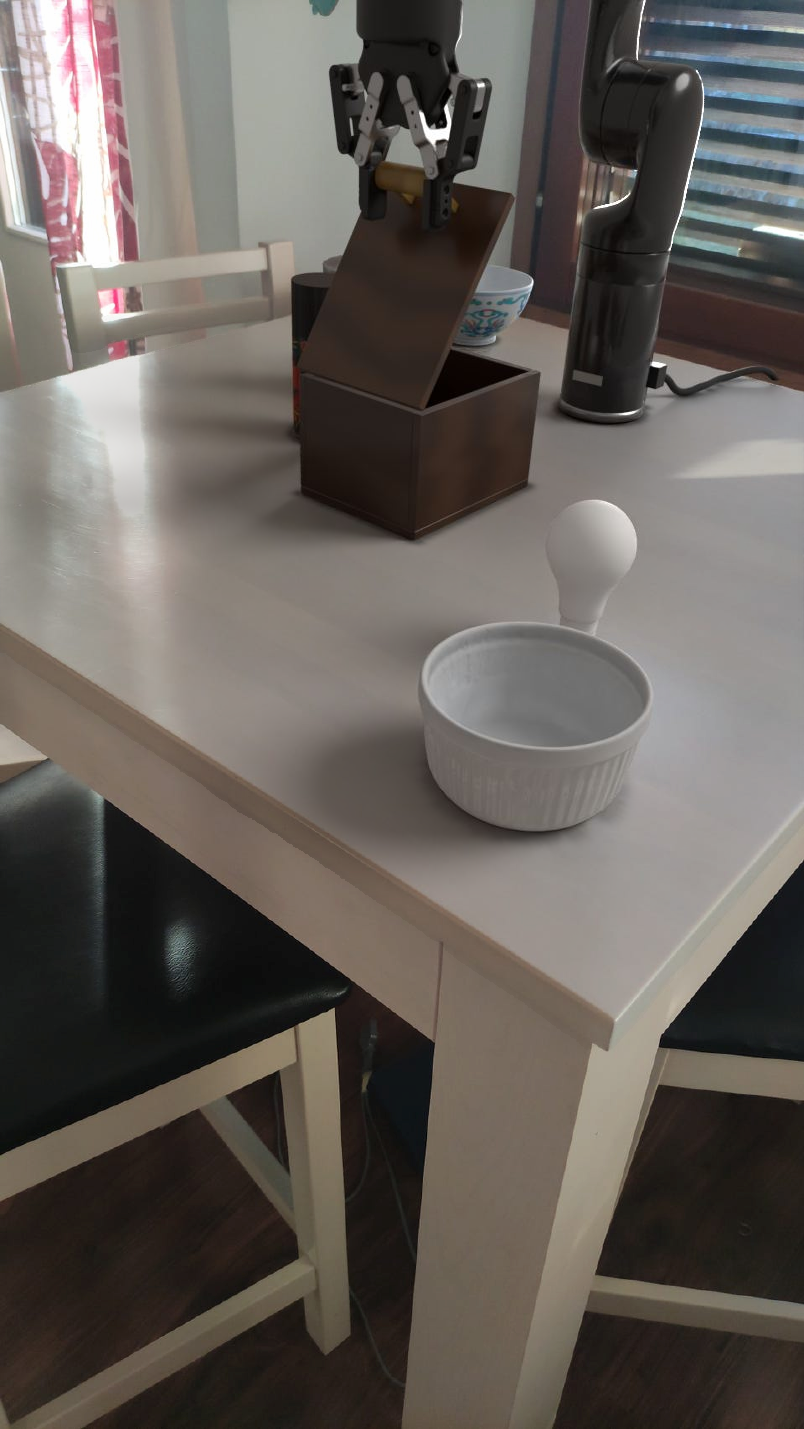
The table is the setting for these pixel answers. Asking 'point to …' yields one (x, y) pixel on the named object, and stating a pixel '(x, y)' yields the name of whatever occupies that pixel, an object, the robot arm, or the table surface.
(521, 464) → the chest
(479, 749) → the ramekin
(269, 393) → the table surface
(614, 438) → the table surface
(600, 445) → the table surface
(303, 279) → the deodorant
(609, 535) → the lightbulb
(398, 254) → the lid
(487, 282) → the chinaware
